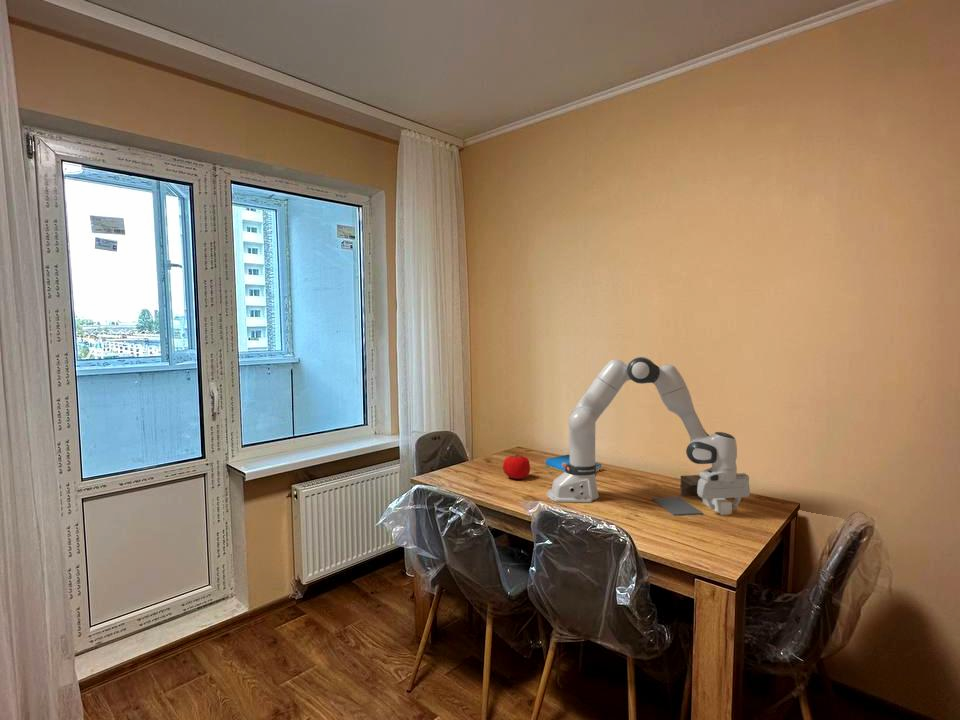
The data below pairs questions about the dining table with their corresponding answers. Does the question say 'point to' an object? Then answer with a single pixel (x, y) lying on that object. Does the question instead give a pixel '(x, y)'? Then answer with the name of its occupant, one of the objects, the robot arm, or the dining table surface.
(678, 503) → the mat
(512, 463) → the tomato
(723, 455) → the robot arm
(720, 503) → the block
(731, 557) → the dining table surface
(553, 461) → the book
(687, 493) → the brown box
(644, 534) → the dining table surface
